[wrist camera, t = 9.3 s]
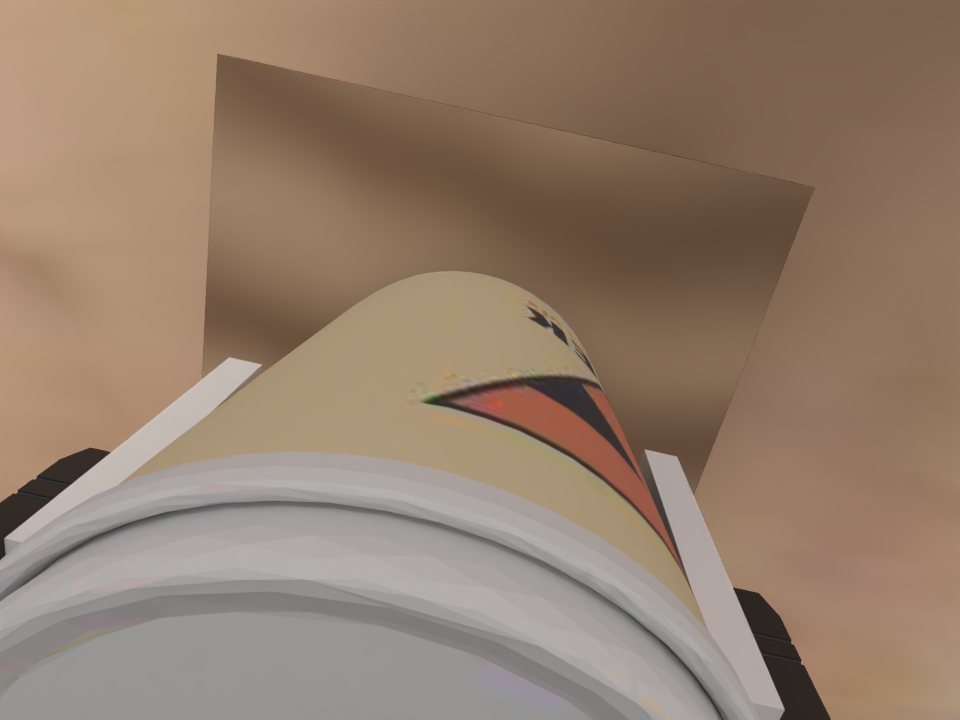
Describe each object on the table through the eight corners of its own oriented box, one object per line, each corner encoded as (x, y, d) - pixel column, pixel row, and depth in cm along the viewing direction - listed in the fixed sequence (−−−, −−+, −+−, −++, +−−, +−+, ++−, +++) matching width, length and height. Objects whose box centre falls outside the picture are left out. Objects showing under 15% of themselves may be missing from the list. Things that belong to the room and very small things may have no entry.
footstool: (295, 69, 21) (217, 53, 15) (744, 169, 21) (814, 187, 16) (259, 461, 26) (194, 545, 21) (614, 539, 26) (635, 642, 21)
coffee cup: (665, 505, 18) (883, 1141, 7) (366, 576, 20) (152, 1175, 9) (574, 184, 15) (697, 382, 4) (232, 300, 17) (-364, 668, 6)
